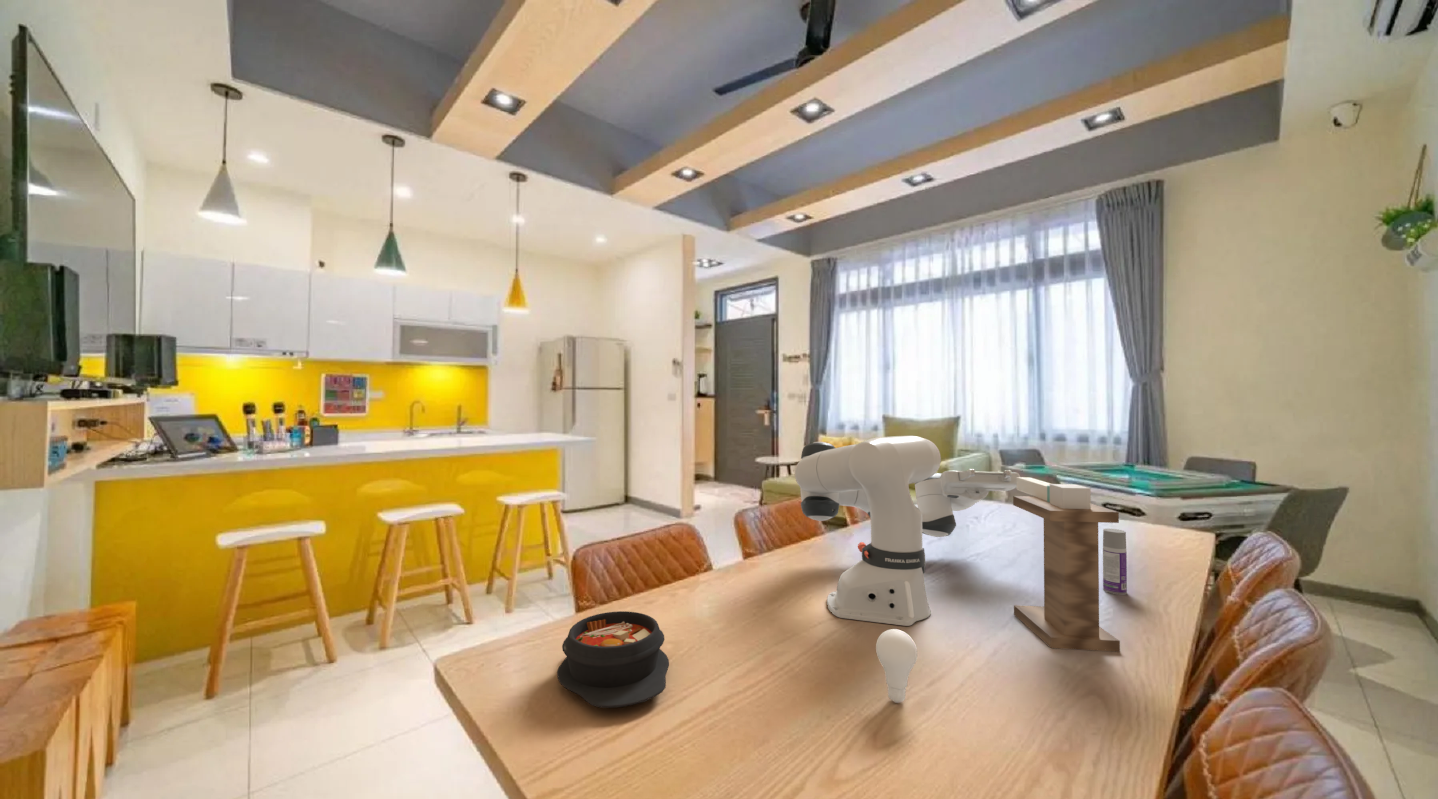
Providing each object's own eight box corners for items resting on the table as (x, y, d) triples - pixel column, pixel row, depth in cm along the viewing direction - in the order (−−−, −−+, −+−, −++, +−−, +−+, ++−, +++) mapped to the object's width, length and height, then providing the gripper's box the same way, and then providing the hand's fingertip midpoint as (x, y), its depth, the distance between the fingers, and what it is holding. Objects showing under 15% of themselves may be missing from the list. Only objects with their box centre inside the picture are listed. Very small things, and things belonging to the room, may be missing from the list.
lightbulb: (919, 696, 82) (918, 626, 83) (916, 717, 77) (915, 642, 77) (879, 687, 85) (878, 619, 85) (873, 707, 79) (873, 634, 80)
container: (1118, 588, 131) (1118, 528, 131) (1131, 595, 126) (1131, 533, 126) (1098, 587, 131) (1098, 528, 132) (1110, 594, 127) (1110, 532, 127)
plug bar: (1062, 508, 101) (1062, 487, 101) (1012, 489, 123) (1012, 472, 124) (1090, 509, 101) (1090, 488, 101) (1034, 490, 123) (1034, 473, 123)
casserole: (548, 656, 96) (548, 610, 96) (645, 637, 104) (646, 595, 104) (569, 733, 73) (569, 673, 73) (692, 702, 81) (692, 648, 81)
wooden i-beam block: (1051, 648, 99) (1050, 510, 99) (1014, 614, 115) (1013, 496, 115) (1119, 651, 97) (1118, 512, 98) (1072, 616, 113) (1071, 497, 114)
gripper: (1011, 498, 149) (1033, 484, 137) (937, 496, 151) (953, 482, 139) (1007, 476, 152) (1028, 462, 140) (934, 475, 154) (949, 460, 141)
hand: (990, 472), depth 139 cm, fingers open, 8 cm apart
